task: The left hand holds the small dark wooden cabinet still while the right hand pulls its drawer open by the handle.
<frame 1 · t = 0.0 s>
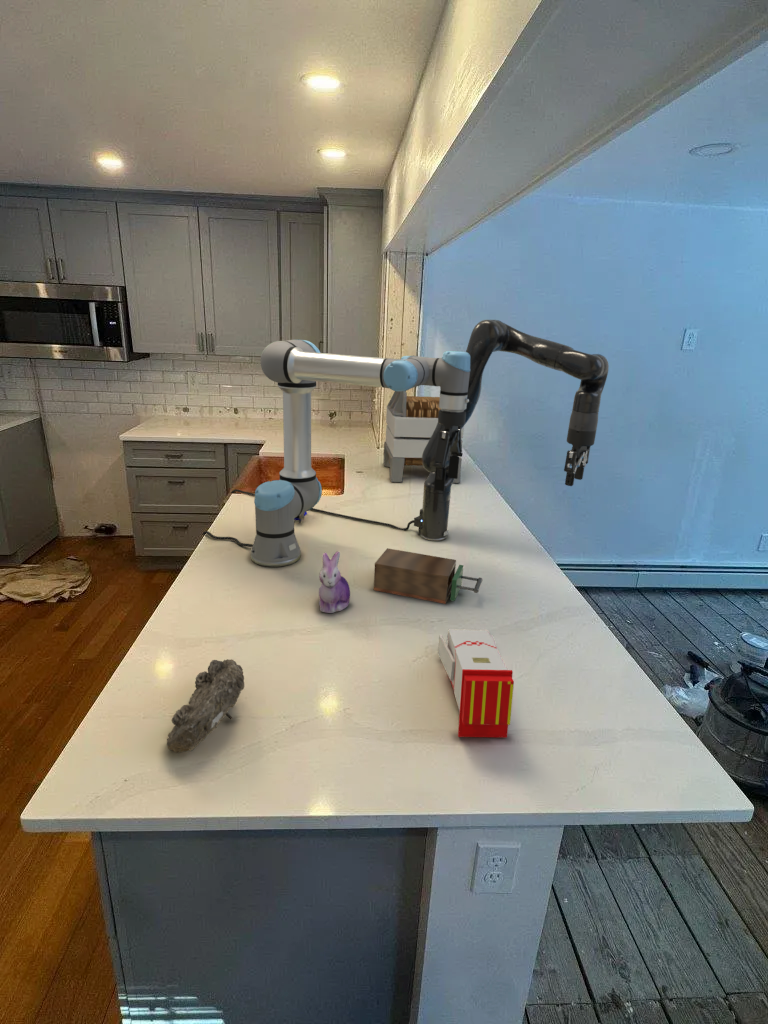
left hand: (446, 483, 163), 28 cm above the counter, tool pointing down, fingers open, 13 cm apart
right hand: (573, 482, 165), 29 cm above the counter, tool pointing down, fingers open, 8 cm apart
figurine: (333, 605, 150), on the counter
figurine character: (297, 518, 210), on the counter
drawer: (435, 578, 159), point 4 cm above the counter, slide at 1.1 cm
toy: (469, 691, 119), on the counter
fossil: (212, 717, 108), on the counter
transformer: (419, 473, 275), on the counter
cabinet: (414, 587, 162), on the counter
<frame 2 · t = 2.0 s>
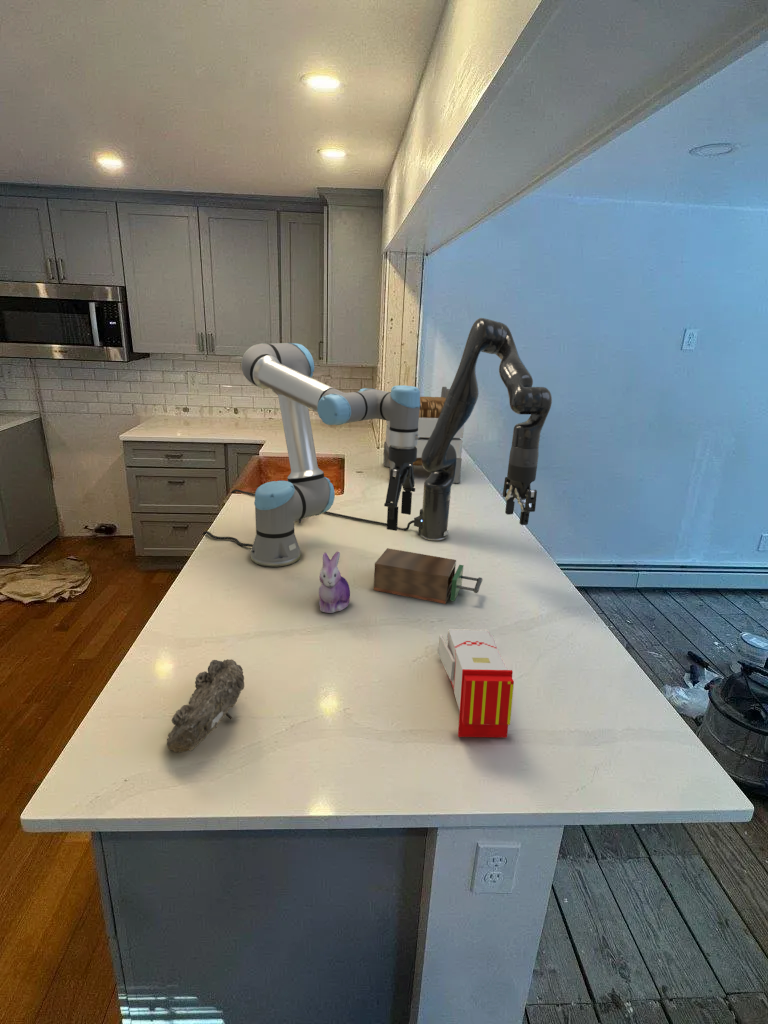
left hand: (399, 521, 157), 19 cm above the counter, tool pointing down, fingers open, 13 cm apart
right hand: (516, 519, 157), 21 cm above the counter, tool pointing down, fingers open, 8 cm apart
nothing on the counter moved.
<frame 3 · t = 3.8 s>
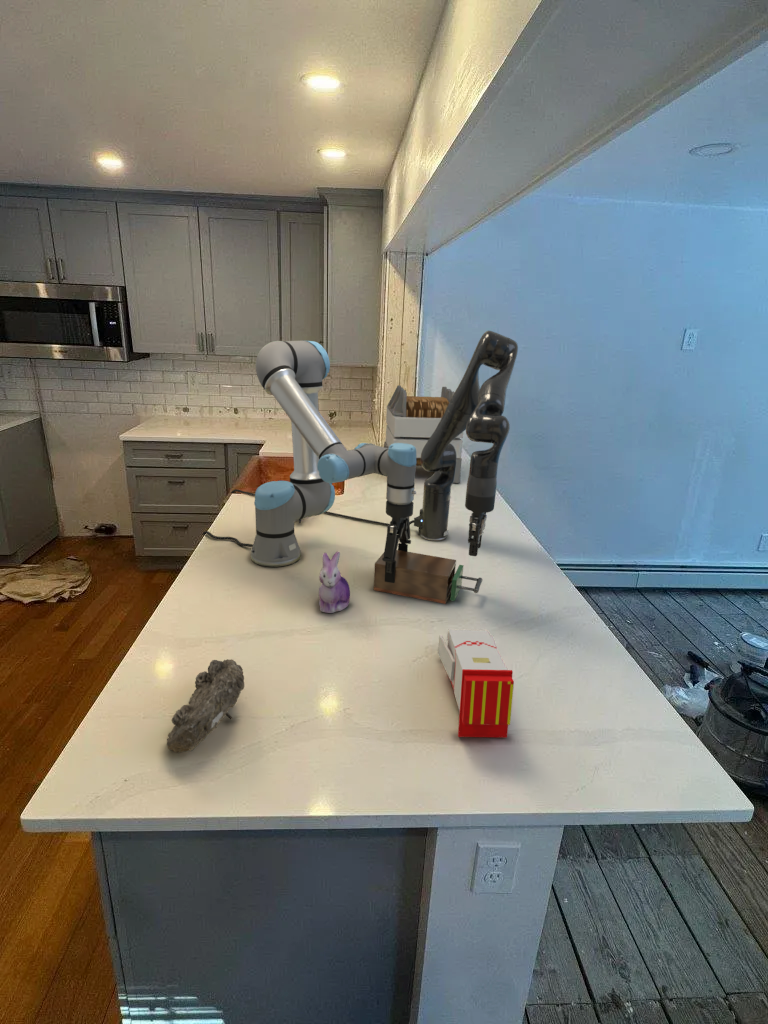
left hand: (395, 572, 162), 4 cm above the counter, tool pointing down, fingers closed on cabinet, 11 cm apart
right hand: (474, 551, 152), 14 cm above the counter, tool pointing down, fingers open, 5 cm apart
cabinet: (414, 587, 162), on the counter, touching left hand
everything else where it was.
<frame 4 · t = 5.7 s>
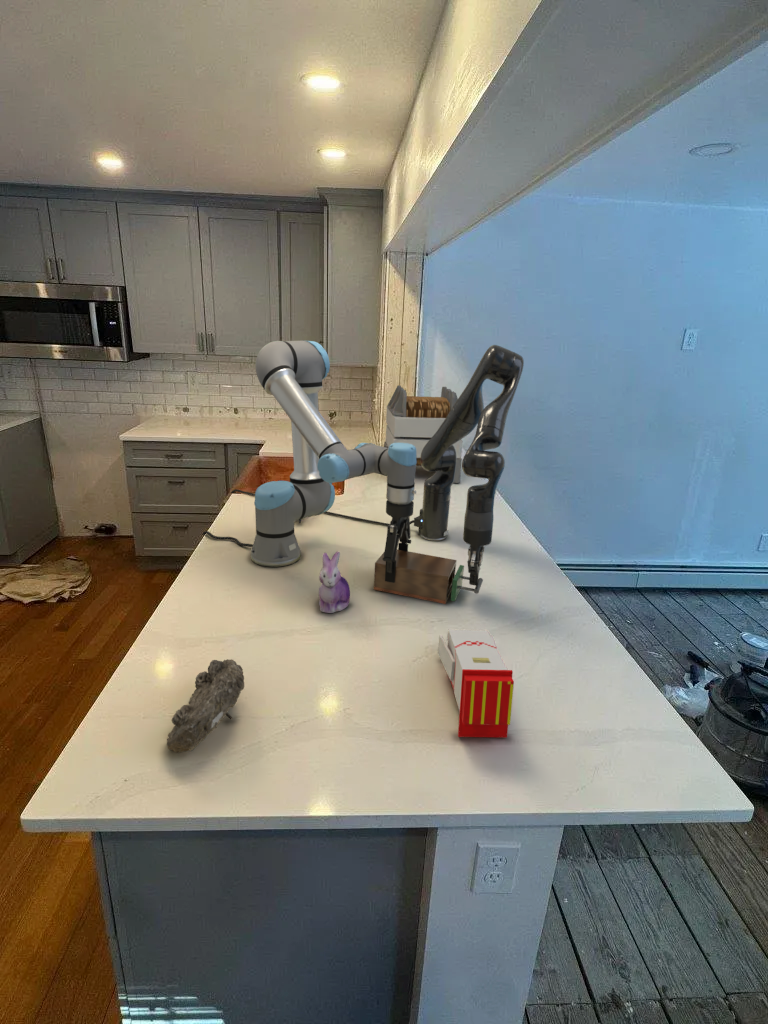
left hand: (396, 572, 162), 4 cm above the counter, tool pointing down, fingers closed on cabinet, 11 cm apart
right hand: (473, 583, 156), 5 cm above the counter, tool pointing down, fingers closed
drawer: (435, 578, 159), point 4 cm above the counter, slide at 1.2 cm, touching right hand
cabinet: (414, 587, 162), on the counter, touching left hand
everything else where it was.
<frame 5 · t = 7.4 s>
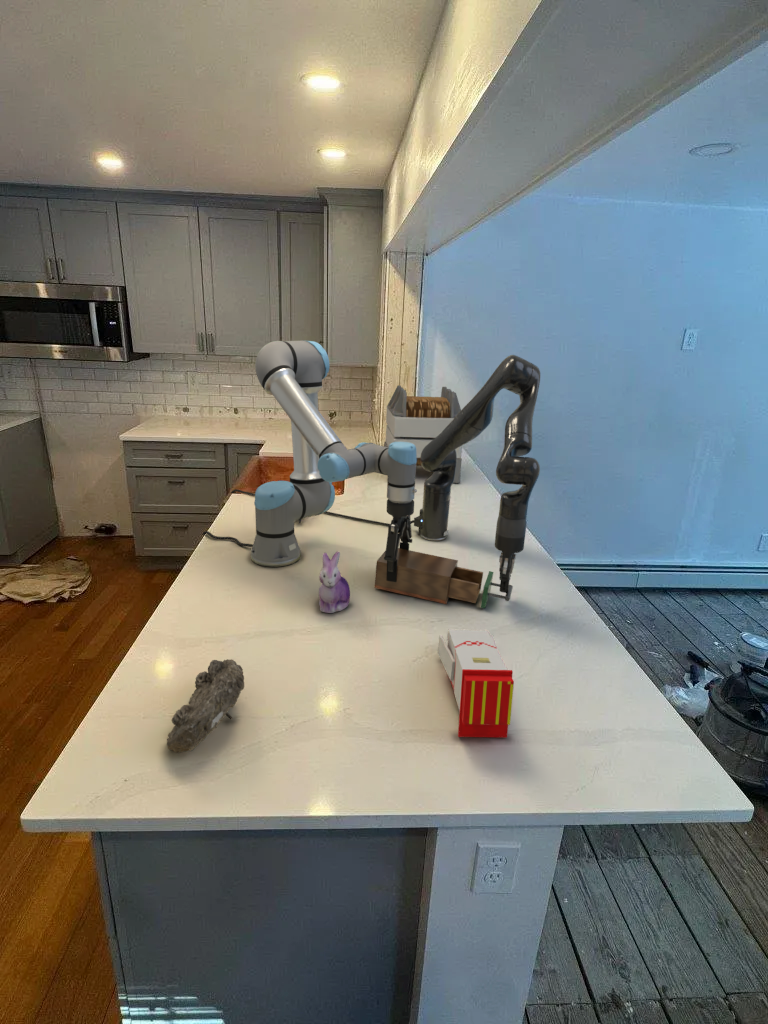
left hand: (397, 572, 162), 4 cm above the counter, tool pointing down, fingers closed on cabinet, 11 cm apart
right hand: (503, 591, 153), 4 cm above the counter, tool pointing down, fingers closed
drawer: (464, 584, 156), point 4 cm above the counter, slide at 9.1 cm, touching right hand
cabinet: (414, 586, 161), on the counter, touching left hand
everything else where it was.
when the left hand's fingers open (4 cm above the counter, at t = 9.3 s): cabinet stays where it is, on the counter.
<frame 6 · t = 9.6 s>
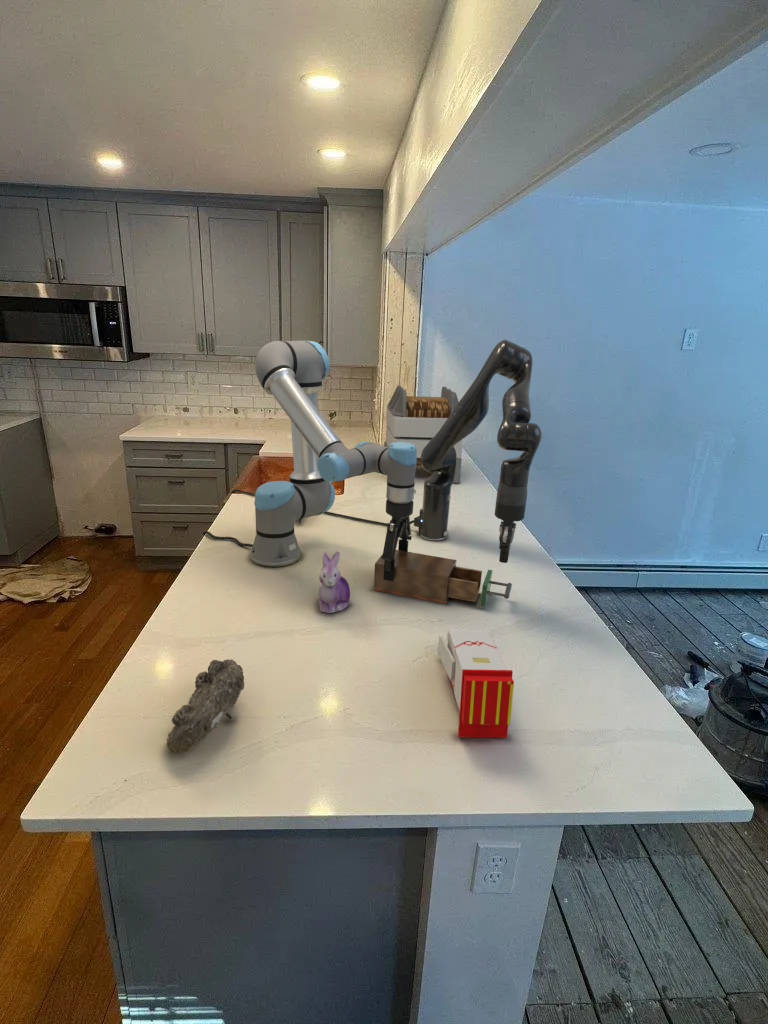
left hand: (395, 570, 162), 5 cm above the counter, tool pointing down, fingers open, 13 cm apart
right hand: (503, 561, 151), 13 cm above the counter, tool pointing down, fingers closed
drawer: (464, 583, 156), point 4 cm above the counter, slide at 9.2 cm
cabinet: (414, 588, 162), on the counter
everything else where it was.
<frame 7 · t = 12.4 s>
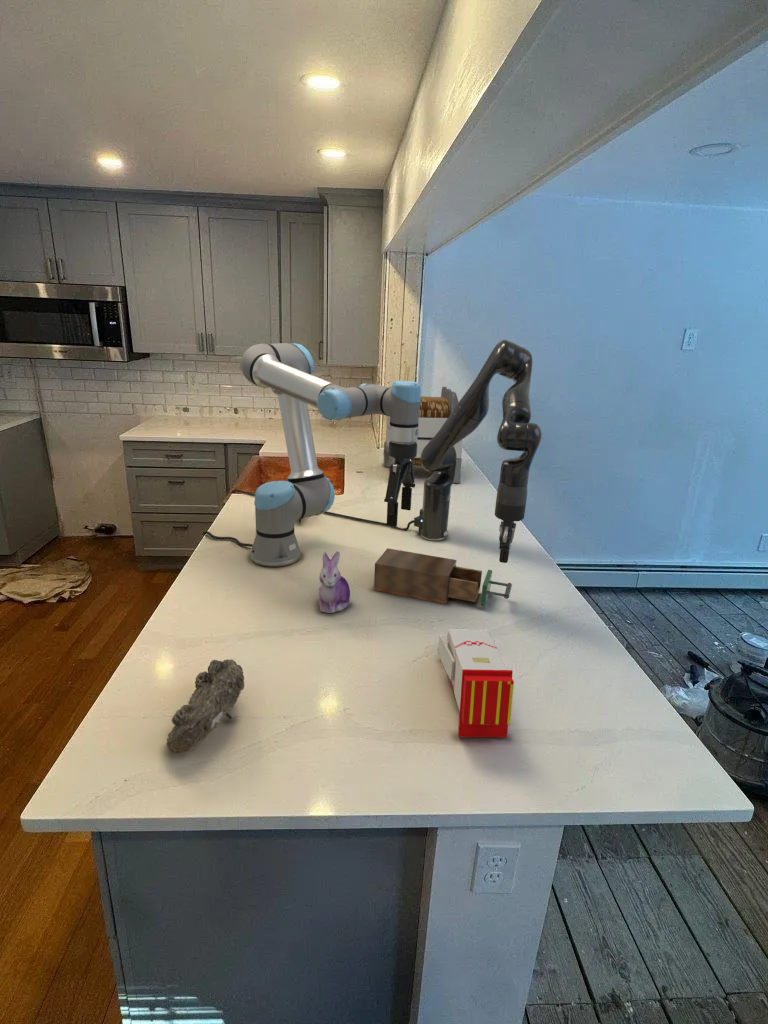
left hand: (399, 517, 156), 21 cm above the counter, tool pointing down, fingers open, 13 cm apart
right hand: (503, 561, 151), 13 cm above the counter, tool pointing down, fingers closed
nothing on the counter moved.
at the end: drawer slide at 9.2 cm; cabinet tilted 0°; cabinet never tilted more than 3° during the clip; cabinet moved 0.1 cm from its start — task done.
